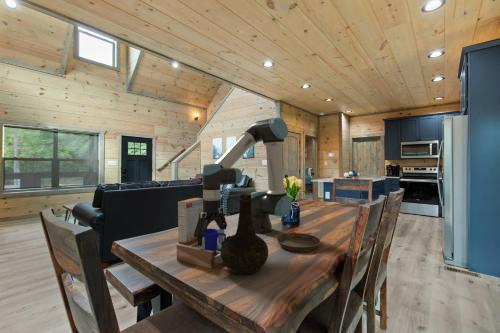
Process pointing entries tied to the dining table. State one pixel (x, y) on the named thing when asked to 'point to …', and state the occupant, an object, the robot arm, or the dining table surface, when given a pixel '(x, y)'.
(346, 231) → the dining table surface
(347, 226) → the dining table surface
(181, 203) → the cracker box
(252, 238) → the dark brown vase
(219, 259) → the channel
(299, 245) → the plant saucer
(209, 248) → the mug
